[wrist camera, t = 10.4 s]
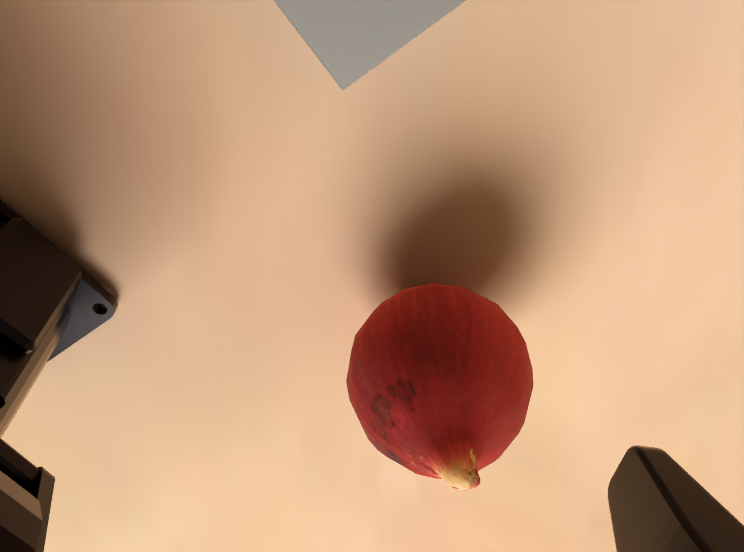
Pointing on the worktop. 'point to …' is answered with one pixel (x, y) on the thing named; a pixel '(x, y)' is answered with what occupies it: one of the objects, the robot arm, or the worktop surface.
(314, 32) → the socket board
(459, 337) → the onion
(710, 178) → the worktop surface
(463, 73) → the worktop surface
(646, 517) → the robot arm
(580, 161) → the worktop surface
